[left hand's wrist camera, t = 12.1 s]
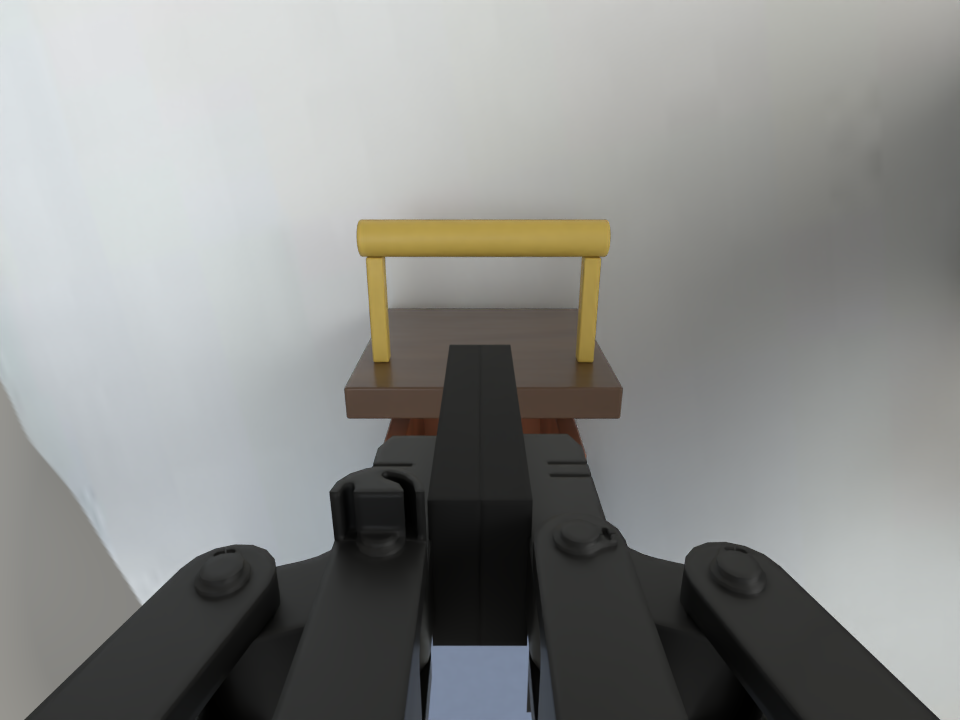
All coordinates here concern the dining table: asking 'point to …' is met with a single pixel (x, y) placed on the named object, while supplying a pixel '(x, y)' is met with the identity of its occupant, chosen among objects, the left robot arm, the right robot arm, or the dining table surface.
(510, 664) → the cabinet
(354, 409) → the drawer
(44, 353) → the dining table surface
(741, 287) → the dining table surface
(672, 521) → the dining table surface
